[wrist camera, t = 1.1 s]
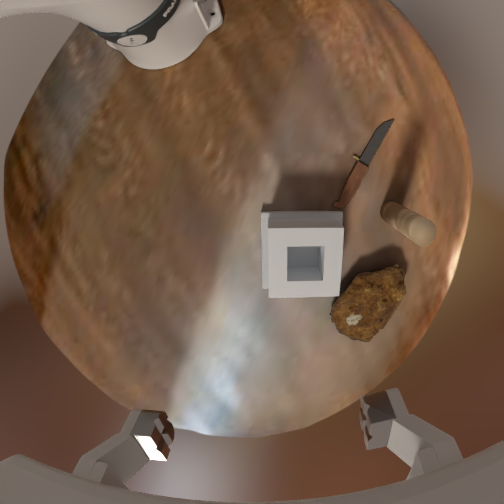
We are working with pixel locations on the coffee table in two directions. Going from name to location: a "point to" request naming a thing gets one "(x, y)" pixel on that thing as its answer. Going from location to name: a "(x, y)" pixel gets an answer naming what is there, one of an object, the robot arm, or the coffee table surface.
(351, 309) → the decorative rock
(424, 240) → the peg
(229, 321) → the coffee table surface
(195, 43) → the robot arm
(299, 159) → the coffee table surface
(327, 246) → the socket
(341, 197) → the knife
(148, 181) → the coffee table surface
